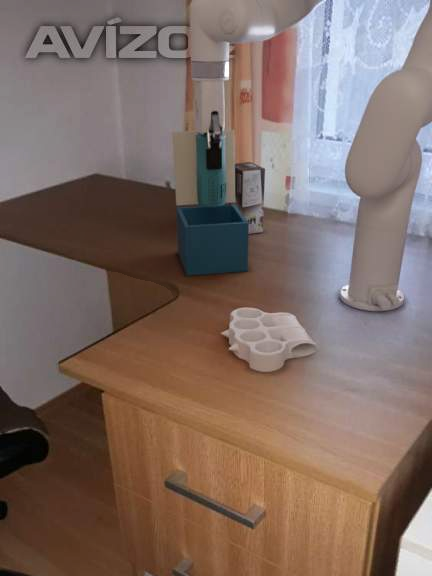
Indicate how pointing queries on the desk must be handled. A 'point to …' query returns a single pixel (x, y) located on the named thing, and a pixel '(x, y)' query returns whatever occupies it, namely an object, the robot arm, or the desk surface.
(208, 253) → the box
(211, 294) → the desk surface
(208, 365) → the desk surface
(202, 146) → the beverage bottle
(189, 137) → the cooler lid
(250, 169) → the coffee box
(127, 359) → the desk surface
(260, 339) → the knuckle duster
